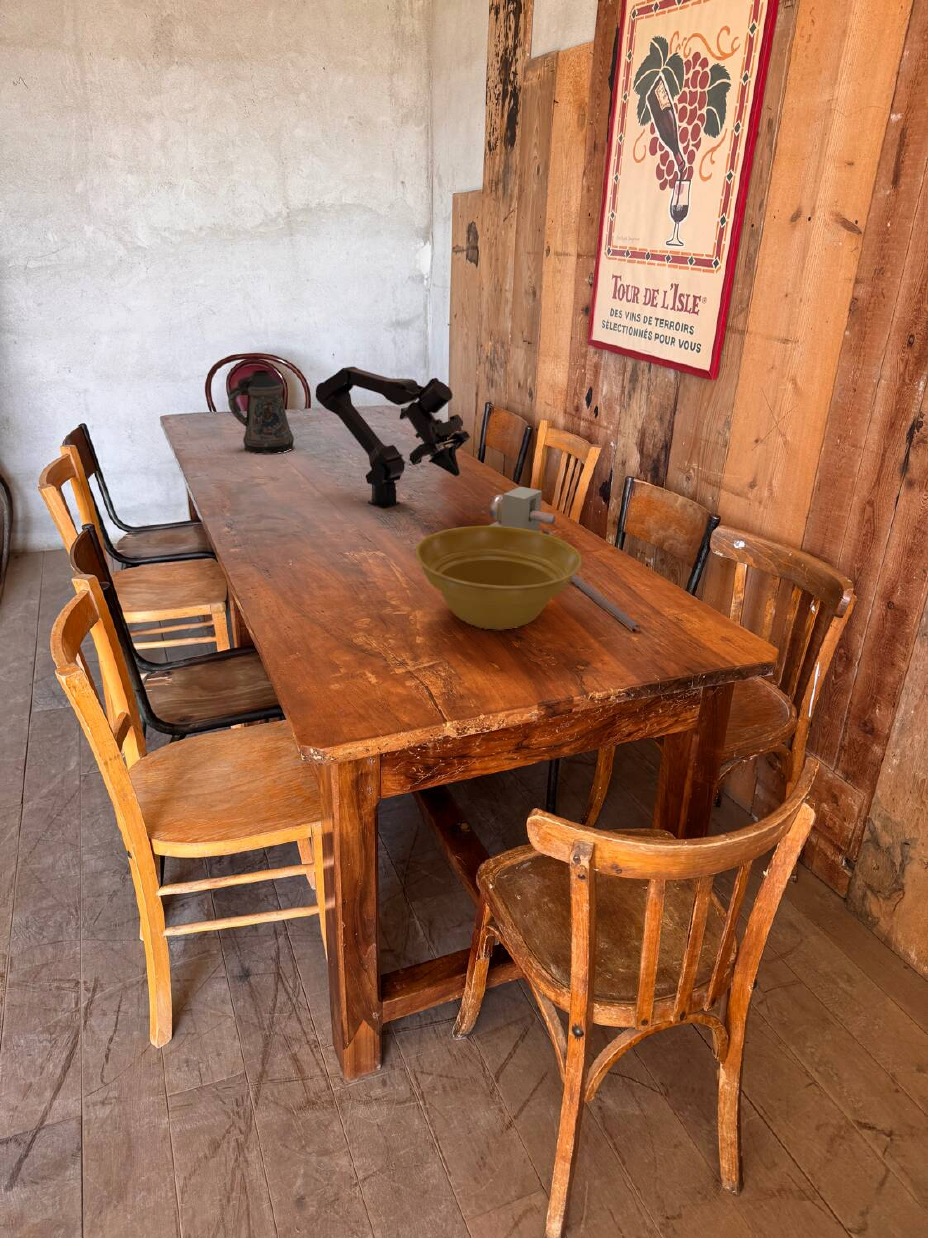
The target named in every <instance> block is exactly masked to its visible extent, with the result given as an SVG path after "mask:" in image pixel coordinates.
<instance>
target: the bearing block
mask: <svg viewBox="0 0 928 1238" xmlns="http://www.w3.org/2000/svg"><path fill="white" fill-rule="evenodd" d="M502 496H503V504H502V521H501V523H498V520H497V521H495V522H493V523H491V524H489V525H488V526H504V527H514V528H521V529H527V530H532V531H537V532H540V533H544V534H547V535H550V536H553V537H554V534H553V533H551V532H550V530H549V529H543V530H540V523H541V522H539V521H535V520H531V519H529V509H531V510H536V511H540V512H541V509H542V497H543V492H542V490H538V489H535V488H530V487H526V486H525V487H524V486H519V487H516V488H514V489H512V490H509V491H507V492H505V493H502Z"/></svg>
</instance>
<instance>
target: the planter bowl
mask: <svg viewBox="0 0 928 1238" xmlns="http://www.w3.org/2000/svg"><path fill="white" fill-rule="evenodd" d="M581 555H582V554H581V553H580V552H579V550H577V549H576V548H575V547H574V546H573V545H571V544H570V543H568V542H567V541H564V540H562V539H560V538H558V537H555V536H554V535H553V536H550V535H547V534H544V533H540V532H537V531H532V530H527V529H521V528H514V527H504V526H489V525H474V526H473V525H472V526H463V527H462V526H461V527H455V528H454V527H453V528H450V529H445V530H441V531H438V532H436V533H433V534H431V535H429V536H427V537H424V539H422V540H420V541H419V543H418V544H417V545H416V546H415V548H414V558H415V559H416V562H417V563H418V564H419V565H420V566H421V568H422V570H423V572H424V574H425V577H426V579H427V580H428V582H429V583H430V584H431V585H432V586H433V587H434V588H435V589H437V590H438V591H440V592H441V595H442V597H443V598H444V601H445V602H446V605H447V606H448V607H449V609H450V610H451V612H452V613H453V614H454V615H455V617H457V618H458V619H460V620H461V621H463V622H464V621H465V622H464V623H466V624H467V625H470V624H471V625H470V626H472V625H474V626H476V627H475V628H478V627H479V628H478V629H482V628H484V629H483V630H487V629H510V628H515V627H518V626H521V627H523V626H525V625H527V624H529V623H531V622H532V621H534V620H535V619H537V617H538V616H539V615H540V614H541V612H542V611H543V610H545V608H546V606H547V605H548V603H549V602H550V600H551V599H552V598H554V597H555V596H557V595H559V594H560V593H562V592H563V591H564V590H565V589H566V588H567V586H568V585H569V584H570V583H571V582H570V580H571V578H572V576H573V575H575V574H576V575H577V574H578V572H579V571H580V570H581V568H582V566H583V557H582V556H581ZM522 625H523V626H522ZM474 626H473V627H474ZM518 628H519V627H518ZM515 629H516V628H515ZM510 630H511V629H510Z"/></svg>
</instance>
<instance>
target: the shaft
mask: <svg viewBox="0 0 928 1238" xmlns="http://www.w3.org/2000/svg"><path fill="white" fill-rule="evenodd" d="M501 501H503V494H496V495H494V497H492V499H491V503H490V506H489V515H490V516H491V517H490V518H492V519H495V520H498V511H499V502H501ZM529 519H531V520H535V521H539V522H540V523H545V524H549V525H554V524H555V521H556V515H555V514H552V513H549V512H543V511H541V510H540V511H536V510H531V509H529Z"/></svg>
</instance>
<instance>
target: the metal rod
mask: <svg viewBox="0 0 928 1238" xmlns="http://www.w3.org/2000/svg"><path fill="white" fill-rule="evenodd" d="M570 581H571V582H573V583H574V584H575V585H576V586H578V587H579V588H580V589H581V590H582V591H584V592H585V593H586V594H587V595H588V597H589V596H590V597H591V598H592V599H593V600H595V601H597V602H598V603H599V604H600V605H602V606H603V607H604V608H605V609H606V610H608V611H609V612H610V613H611V614H613V615H614V616H615V617H616V618H617V619H619V620H621V622H623V623H624V624H626V625H627V626H628V627H629V628H630V629H633V628H634V626H636V627H638V628H639V629H641V626H640V624H639V623H637V622H636V621H635V620H633V619H632V618H631V617H629V615H628V614H626V613H625V612H624V611H622V610H620V608H619V607H617V606H616V605H615V604H613V603H612V602H611V601H610V600H608V598H606V597H604V596H603V595H602V594H601V593H600V592H598V591H597V590H596V589H594V587H592V585H590V584H588V583H587V582H586V581H584V580H583V579H582V578H581V577H580V576H579V575H577V573H576V574H575V575H573V576H572V578H571V580H570ZM571 582H570V583H571ZM573 583H572V584H573ZM574 584H573V585H574ZM575 585H574V586H575ZM576 586H575V587H576ZM578 587H577V588H578ZM579 588H578V589H579ZM580 589H579V590H580ZM581 590H580V591H581ZM582 591H581V592H582ZM584 592H583V593H584ZM585 593H584V594H585ZM586 594H585V595H586ZM587 595H586V596H587ZM590 597H589V598H590ZM591 598H590V599H591ZM592 599H591V600H592ZM593 600H592V601H593ZM595 601H594V602H595ZM606 610H605V611H606Z"/></svg>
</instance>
